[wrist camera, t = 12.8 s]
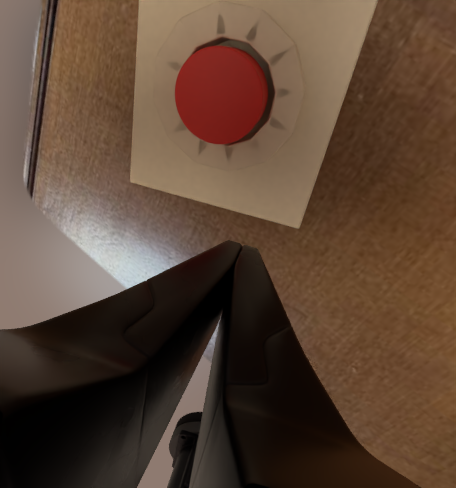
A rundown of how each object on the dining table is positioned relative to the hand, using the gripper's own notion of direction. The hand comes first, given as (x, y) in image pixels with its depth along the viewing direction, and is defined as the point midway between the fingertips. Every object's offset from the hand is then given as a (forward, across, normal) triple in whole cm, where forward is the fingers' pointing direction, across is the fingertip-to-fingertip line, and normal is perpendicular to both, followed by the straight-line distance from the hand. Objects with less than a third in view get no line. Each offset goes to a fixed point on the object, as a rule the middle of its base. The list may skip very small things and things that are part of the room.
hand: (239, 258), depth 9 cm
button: (+8, +3, -3) cm, 9 cm away
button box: (+12, +3, -3) cm, 12 cm away
